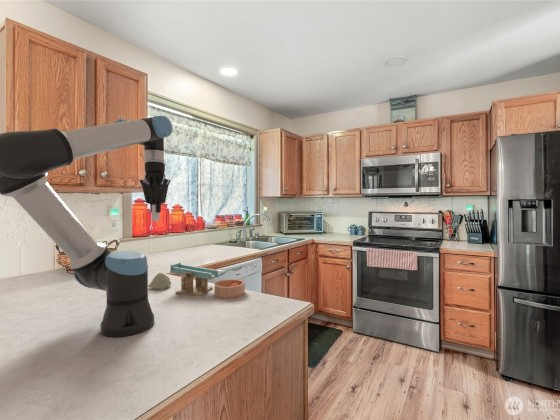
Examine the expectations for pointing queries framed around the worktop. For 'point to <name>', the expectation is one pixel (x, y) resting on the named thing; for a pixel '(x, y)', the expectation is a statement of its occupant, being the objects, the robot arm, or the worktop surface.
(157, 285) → the seashell
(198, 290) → the stand
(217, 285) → the bowl
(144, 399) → the worktop surface
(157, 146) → the robot arm
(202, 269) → the lever
